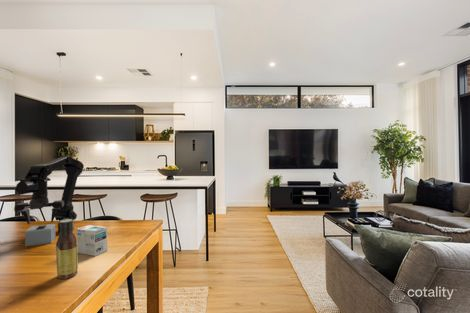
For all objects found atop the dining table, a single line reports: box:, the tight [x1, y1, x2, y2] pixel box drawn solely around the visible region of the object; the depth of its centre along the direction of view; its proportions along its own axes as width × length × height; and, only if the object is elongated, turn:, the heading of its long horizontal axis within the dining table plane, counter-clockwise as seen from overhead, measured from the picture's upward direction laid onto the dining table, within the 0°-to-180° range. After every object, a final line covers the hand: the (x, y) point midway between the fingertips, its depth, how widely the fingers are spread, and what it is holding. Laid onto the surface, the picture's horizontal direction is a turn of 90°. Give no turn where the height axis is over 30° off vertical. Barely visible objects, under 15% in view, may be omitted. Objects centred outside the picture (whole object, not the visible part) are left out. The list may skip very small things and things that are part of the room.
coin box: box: [24, 223, 57, 247], centre depth 126 cm, size 10×9×7 cm
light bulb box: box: [76, 224, 108, 257], centre depth 113 cm, size 11×7×11 cm, turn 71°
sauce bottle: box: [55, 219, 79, 280], centre depth 92 cm, size 6×6×20 cm
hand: (40, 223), depth 126 cm, fingers open, 9 cm apart
